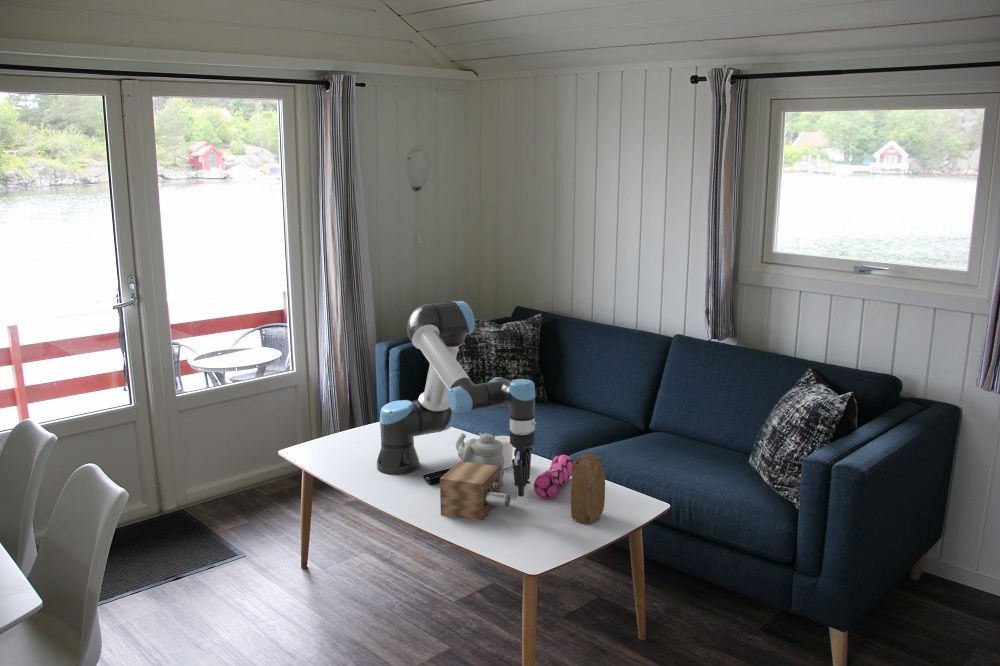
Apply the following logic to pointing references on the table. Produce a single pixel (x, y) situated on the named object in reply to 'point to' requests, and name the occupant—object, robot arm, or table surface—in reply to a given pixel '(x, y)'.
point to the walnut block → (468, 490)
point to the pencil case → (554, 477)
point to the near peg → (497, 499)
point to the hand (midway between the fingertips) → (522, 504)
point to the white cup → (506, 450)
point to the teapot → (482, 451)
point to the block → (587, 489)
